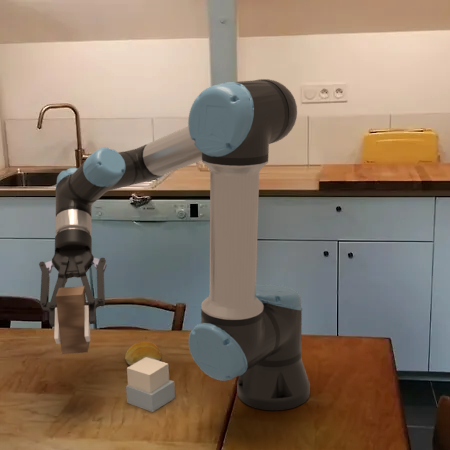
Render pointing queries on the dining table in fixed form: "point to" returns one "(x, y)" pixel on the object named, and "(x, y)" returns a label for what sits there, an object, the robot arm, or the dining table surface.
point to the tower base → (151, 396)
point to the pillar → (72, 319)
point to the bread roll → (142, 352)
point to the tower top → (148, 374)
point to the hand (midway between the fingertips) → (72, 339)
